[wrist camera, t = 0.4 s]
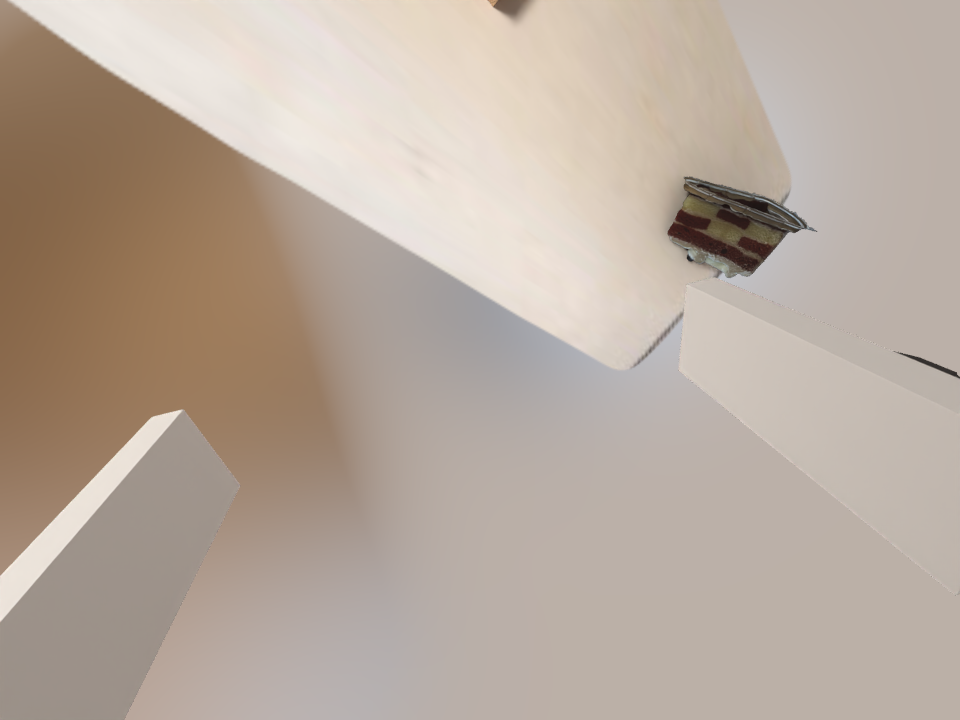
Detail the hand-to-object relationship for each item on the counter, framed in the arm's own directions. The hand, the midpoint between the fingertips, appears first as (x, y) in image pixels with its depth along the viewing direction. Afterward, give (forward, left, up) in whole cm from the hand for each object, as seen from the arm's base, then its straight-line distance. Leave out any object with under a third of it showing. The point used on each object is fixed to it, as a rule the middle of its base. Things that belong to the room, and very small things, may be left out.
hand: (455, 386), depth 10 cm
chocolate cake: (+7, +24, -30) cm, 39 cm away
